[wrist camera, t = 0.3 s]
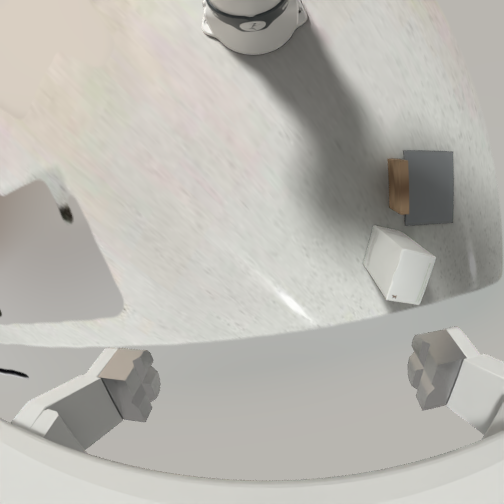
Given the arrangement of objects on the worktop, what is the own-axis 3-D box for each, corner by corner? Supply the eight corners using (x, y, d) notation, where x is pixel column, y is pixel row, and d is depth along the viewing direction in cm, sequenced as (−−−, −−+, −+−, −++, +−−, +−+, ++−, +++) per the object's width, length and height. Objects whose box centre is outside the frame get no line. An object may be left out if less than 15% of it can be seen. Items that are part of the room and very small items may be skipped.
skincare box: (390, 269, 56) (420, 308, 41) (359, 263, 56) (383, 302, 41) (402, 229, 53) (439, 257, 38) (371, 221, 53) (402, 248, 38)
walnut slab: (387, 158, 49) (399, 160, 43) (395, 158, 49) (408, 160, 43) (389, 207, 52) (400, 214, 46) (397, 207, 52) (409, 214, 46)
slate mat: (403, 150, 48) (404, 150, 48) (451, 151, 47) (452, 151, 46) (405, 225, 52) (405, 225, 52) (451, 222, 51) (452, 222, 51)
